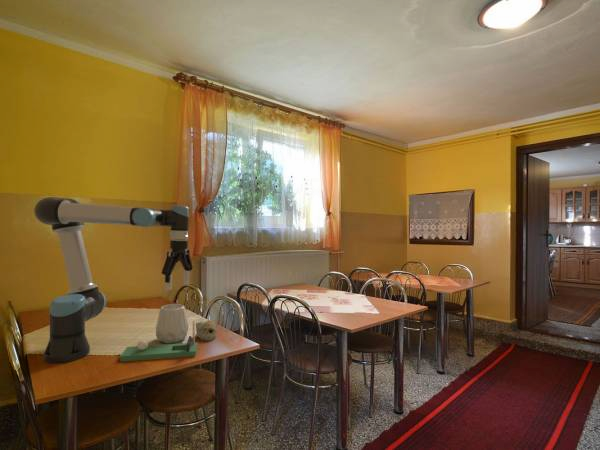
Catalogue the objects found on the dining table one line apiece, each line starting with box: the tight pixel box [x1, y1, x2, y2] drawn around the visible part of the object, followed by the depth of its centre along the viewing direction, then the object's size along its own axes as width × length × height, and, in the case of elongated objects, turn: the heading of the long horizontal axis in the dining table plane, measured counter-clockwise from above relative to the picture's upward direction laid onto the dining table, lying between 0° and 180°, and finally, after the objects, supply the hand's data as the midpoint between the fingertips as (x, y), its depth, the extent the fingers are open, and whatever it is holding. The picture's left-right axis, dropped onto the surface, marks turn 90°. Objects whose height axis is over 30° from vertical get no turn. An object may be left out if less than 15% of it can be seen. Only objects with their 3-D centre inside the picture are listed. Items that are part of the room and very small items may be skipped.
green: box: [119, 320, 198, 362], centre depth 138 cm, size 28×10×12 cm, turn 103°
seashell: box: [195, 320, 217, 342], centre depth 159 cm, size 10×10×10 cm
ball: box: [136, 339, 149, 351], centre depth 137 cm, size 4×4×4 cm
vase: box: [155, 303, 189, 344], centre depth 155 cm, size 14×14×15 cm
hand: (177, 287), depth 152 cm, fingers open, 13 cm apart
